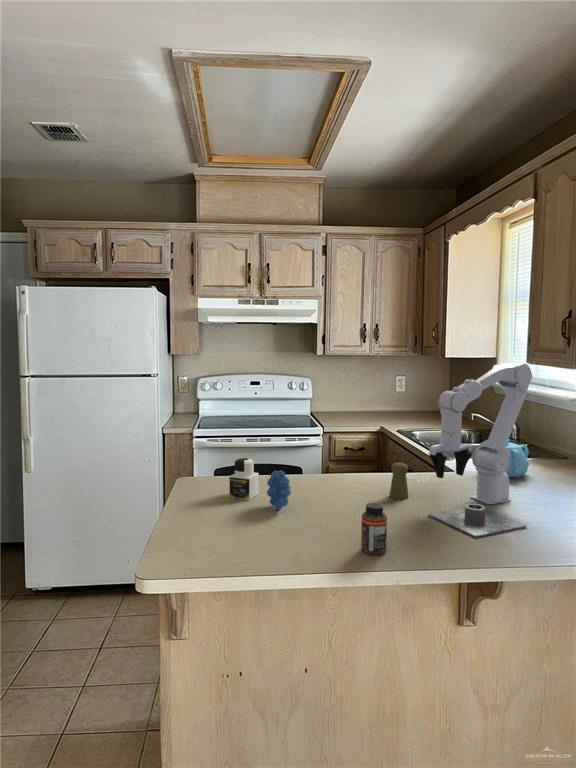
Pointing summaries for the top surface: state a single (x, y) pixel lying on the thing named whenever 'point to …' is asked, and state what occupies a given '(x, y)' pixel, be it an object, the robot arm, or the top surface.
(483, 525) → the stand
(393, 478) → the cork
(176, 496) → the top surface
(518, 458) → the decorative pot
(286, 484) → the grapes
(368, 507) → the supplement bottle
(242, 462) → the medicine bottle
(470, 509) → the ring
